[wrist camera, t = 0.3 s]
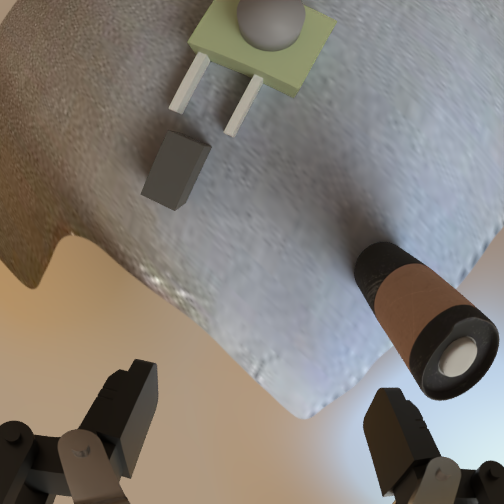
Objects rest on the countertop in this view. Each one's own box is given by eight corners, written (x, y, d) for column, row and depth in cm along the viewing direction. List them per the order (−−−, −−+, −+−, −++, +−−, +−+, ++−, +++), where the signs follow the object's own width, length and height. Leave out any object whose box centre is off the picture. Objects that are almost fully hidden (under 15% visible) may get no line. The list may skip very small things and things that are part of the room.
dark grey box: (180, 133, 33) (168, 130, 28) (212, 147, 34) (204, 146, 29) (155, 188, 35) (140, 194, 30) (185, 203, 36) (174, 210, 31)
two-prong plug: (233, -3, 28) (226, -39, 20) (327, 36, 29) (345, 8, 21) (168, 109, 32) (142, 97, 24) (265, 152, 34) (266, 152, 26)
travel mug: (384, 306, 39) (455, 409, 20) (340, 280, 38) (399, 389, 19) (417, 257, 37) (513, 338, 18) (374, 227, 36) (469, 301, 17)
